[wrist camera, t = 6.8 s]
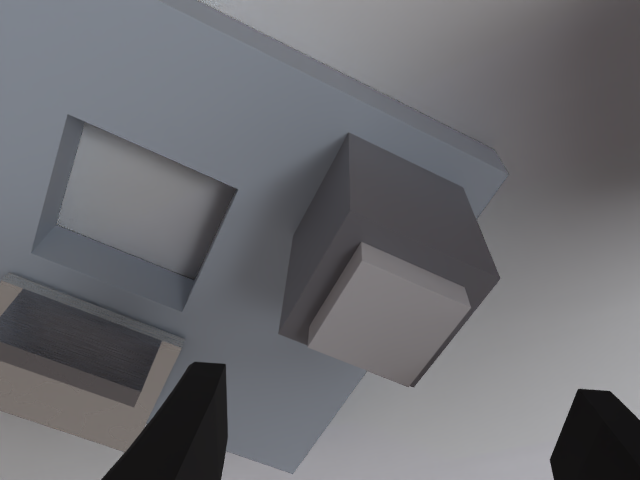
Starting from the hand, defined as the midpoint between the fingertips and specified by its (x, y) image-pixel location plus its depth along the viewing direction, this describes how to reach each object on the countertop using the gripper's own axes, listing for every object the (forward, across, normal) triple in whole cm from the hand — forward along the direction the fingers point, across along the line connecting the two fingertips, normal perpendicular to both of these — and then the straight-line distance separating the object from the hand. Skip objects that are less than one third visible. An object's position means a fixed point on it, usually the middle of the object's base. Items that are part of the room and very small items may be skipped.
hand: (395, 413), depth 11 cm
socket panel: (+10, +7, +2) cm, 13 cm away
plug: (+8, 0, 0) cm, 8 cm away
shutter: (+8, +11, +7) cm, 15 cm away
